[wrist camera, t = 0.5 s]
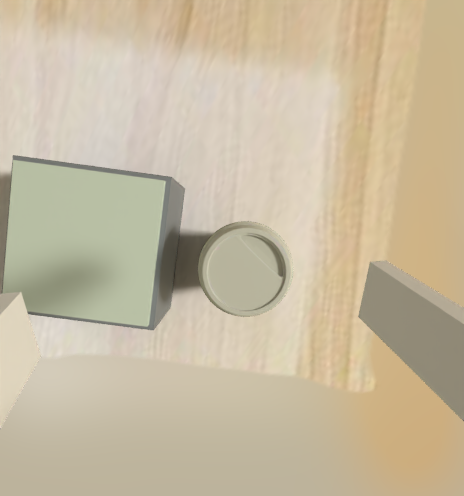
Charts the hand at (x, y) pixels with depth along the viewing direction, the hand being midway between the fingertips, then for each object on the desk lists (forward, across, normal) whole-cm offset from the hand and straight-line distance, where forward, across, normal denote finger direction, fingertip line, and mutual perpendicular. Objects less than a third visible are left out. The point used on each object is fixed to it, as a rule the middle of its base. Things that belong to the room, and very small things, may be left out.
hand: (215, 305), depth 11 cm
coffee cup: (+23, +6, -8) cm, 25 cm away
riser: (+26, -8, -7) cm, 28 cm away
